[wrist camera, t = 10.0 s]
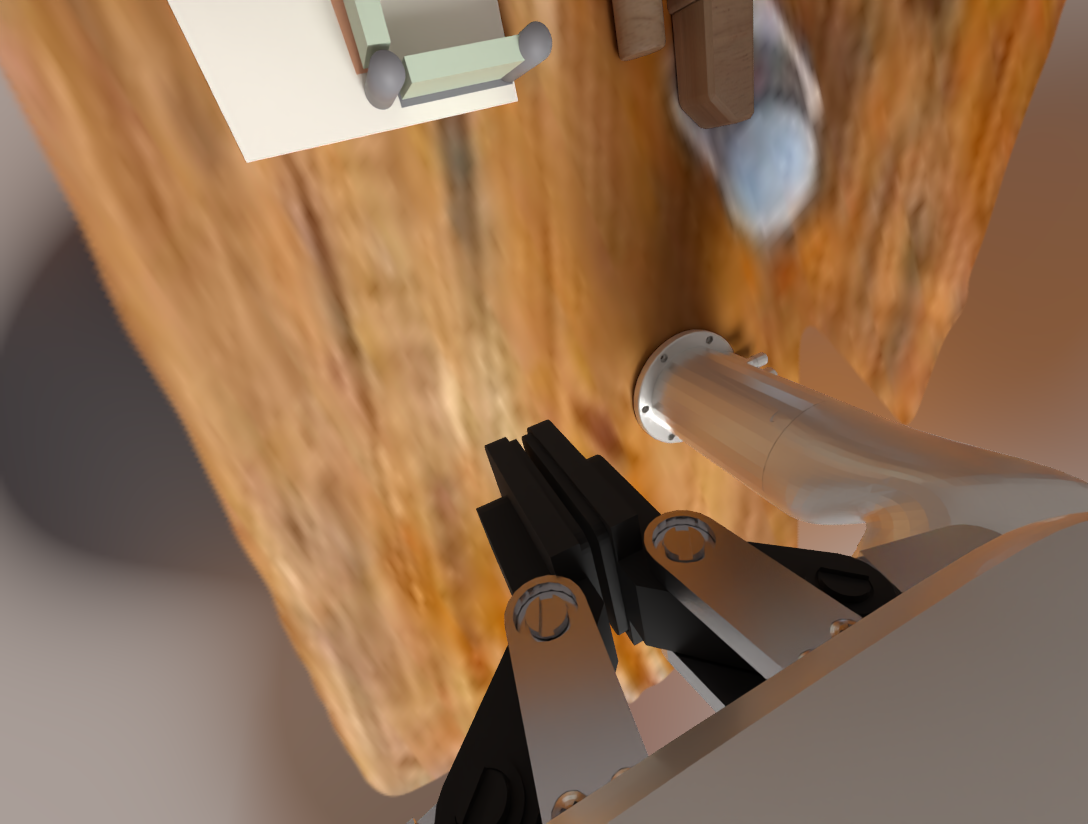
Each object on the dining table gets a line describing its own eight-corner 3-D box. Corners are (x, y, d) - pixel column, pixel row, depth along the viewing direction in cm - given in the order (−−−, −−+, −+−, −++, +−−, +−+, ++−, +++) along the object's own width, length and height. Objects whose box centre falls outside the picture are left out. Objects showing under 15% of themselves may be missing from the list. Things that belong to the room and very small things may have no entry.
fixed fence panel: (514, 48, 30) (548, 18, 25) (520, 81, 31) (554, 58, 26) (359, 79, 28) (363, 52, 23) (371, 113, 29) (377, 95, 24)
